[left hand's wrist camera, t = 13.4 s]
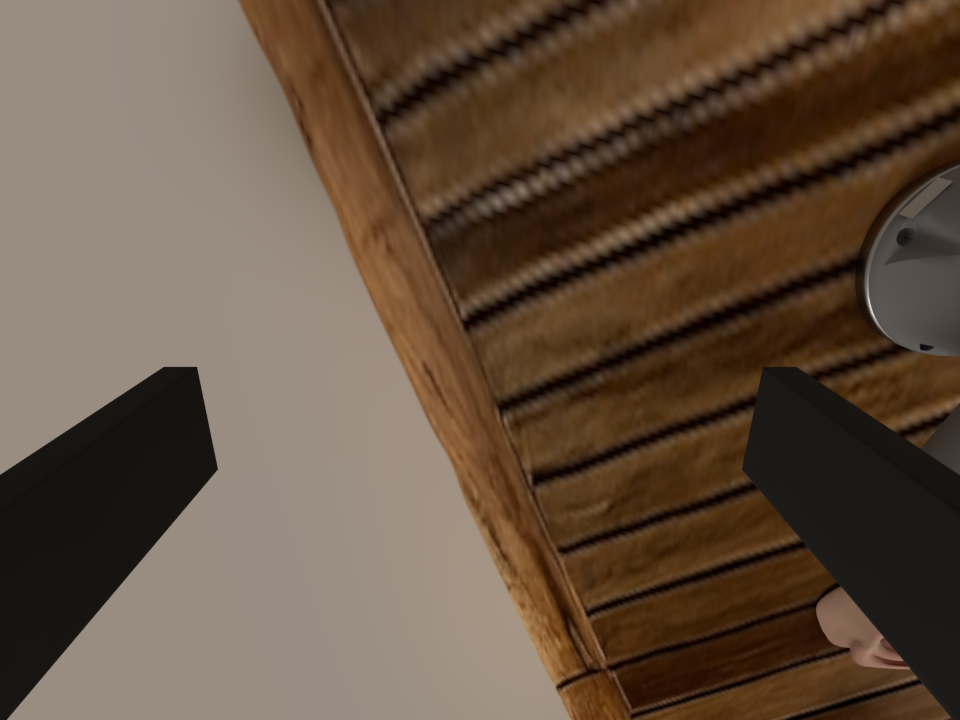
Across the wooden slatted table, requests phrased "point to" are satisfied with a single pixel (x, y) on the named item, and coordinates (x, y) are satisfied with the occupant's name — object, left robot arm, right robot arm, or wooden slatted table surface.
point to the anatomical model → (855, 632)
